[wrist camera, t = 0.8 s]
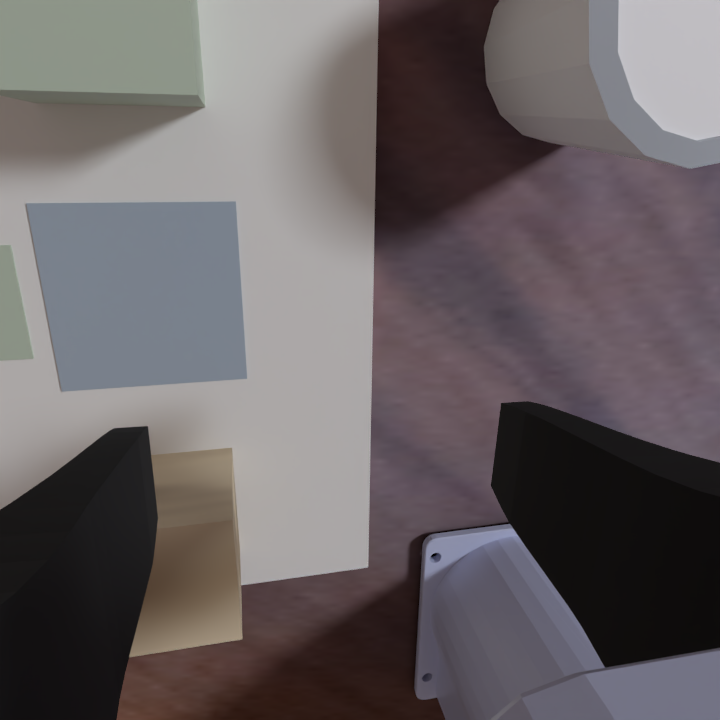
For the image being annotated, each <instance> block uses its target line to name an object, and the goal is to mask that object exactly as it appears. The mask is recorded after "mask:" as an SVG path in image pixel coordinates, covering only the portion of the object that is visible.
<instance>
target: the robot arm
mask: <svg viewBox="0 0 720 720" xmlns="http://www.w3.org/2000/svg"><path fill="white" fill-rule="evenodd" d="M491 487H492V489H493V491H494V493H495V495H496V497H497V499H498V502H499V504H500V506H501V508H502V510H503V512H504V513H505V515H506V517H507V519H508V521H509V523H510V524H505V525H497V526H489V527H482V528H474V529H467V530H459V531H451V532H444V533H436V534H432V535H429V536H428V537H426V539H425V540H424V542H423V547H422V564H421V581H420V598H419V615H418V632H417V649H416V666H415V683H414V690H415V693H416V696H417V698H418V699H421V700H427V699H432V698H438V701H439V704H440V706H441V709H442V712H443V714H444V717H445V720H720V463H719V462H715V461H711V460H707V459H703V458H700V457H696V456H692V455H688V454H685V453H681V452H678V451H675V450H671V449H668V448H665V447H662V446H659V445H656V444H653V443H650V442H647V441H643V440H640V439H638V438H635V437H632V436H629V435H626V434H623V433H620V432H618V431H615V430H612V429H609V428H607V427H604V426H601V425H599V424H596V423H593V422H591V421H588V420H585V419H582V418H580V417H577V416H574V415H572V414H569V413H566V412H563V411H560V410H557V409H554V408H551V407H548V406H545V405H541V404H538V403H533V402H528V401H527V402H511V403H501V410H500V418H499V426H498V434H497V442H496V450H495V458H494V466H493V474H492V482H491ZM157 523H158V513H157V504H156V494H155V485H154V476H153V467H152V458H151V449H150V440H149V431H148V426H140V427H124V428H113V429H112V430H110V431H108V432H107V433H106V434H104V435H103V436H102V437H100V438H99V439H98V440H96V441H95V442H94V443H92V444H91V445H90V446H89V447H87V448H86V449H85V450H83V451H82V452H81V453H80V454H78V455H77V456H76V457H74V458H73V459H72V460H70V461H69V462H68V463H67V464H65V465H64V466H63V467H61V468H60V469H59V470H57V471H56V472H55V473H53V474H52V475H51V476H49V477H48V478H46V479H45V480H43V481H42V482H40V483H39V484H38V485H36V486H35V487H33V488H32V489H30V490H29V491H27V492H26V493H24V494H23V495H22V496H20V497H19V498H17V499H16V500H14V501H13V502H11V503H10V504H8V505H7V506H5V507H4V508H2V509H0V720H116V719H117V712H118V705H119V699H120V694H121V689H122V685H123V680H124V675H125V671H126V667H127V663H128V659H129V655H130V651H131V648H132V644H133V640H134V636H135V632H136V628H137V624H138V620H139V617H140V613H141V609H142V605H143V601H144V597H145V593H146V589H147V585H148V581H149V577H150V573H151V569H152V565H153V559H154V550H155V542H156V533H157ZM434 553H438V554H437V555H436V556H433V557H431V555H432V554H434Z"/></svg>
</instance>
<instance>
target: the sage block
mask: <svg viewBox="0 0 720 720" xmlns="http://www.w3.org/2000/svg"><path fill="white" fill-rule="evenodd" d="M0 96H5V97H10V98H14V99H19V100H23V101H28V102H33V103H51V104H93V105H135V106H178V107H205V94H204V81H203V68H202V56H201V43H200V30H199V17H198V4H197V0H0Z"/></svg>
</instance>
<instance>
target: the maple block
mask: <svg viewBox="0 0 720 720" xmlns="http://www.w3.org/2000/svg"><path fill="white" fill-rule="evenodd" d="M151 458H152V467H153V476H154V485H155V494H156V504H157V513H158V523H157V533H156V542H155V550H154V559H153V565H152V569H151V573H150V577H149V581H148V585H147V589H146V593H145V597H144V601H143V605H142V609H141V613H140V617H139V620H138V624H137V628H136V632H135V636H134V640H133V644H132V648H131V651H130V655H129V657H134V656H140V655H147V654H153V653H159V652H165V651H172V650H178V649H184V648H191V647H197V646H203V645H209V644H216V643H222V642H228V641H235V640H241V639H242V605H241V566H240V543H239V530H238V517H237V504H236V491H235V479H234V466H233V453H232V448H223V449H212V450H201V451H190V452H179V453H169V454H158V455H151Z"/></svg>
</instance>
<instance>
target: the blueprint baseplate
mask: <svg viewBox="0 0 720 720" xmlns="http://www.w3.org/2000/svg"><path fill="white" fill-rule="evenodd" d="M197 4H198V17H199V30H200V43H201V56H202V68H203V81H204V94H205V107H178V106H135V105H93V104H51V103H33V102H28V101H23V100H19V99H14V98H10V97H5V96H0V509H2V508H4V507H5V506H7V505H8V504H10V503H11V502H13V501H14V500H16V499H17V498H19V497H20V496H22V495H23V494H24V493H26V492H27V491H29V490H30V489H32V488H33V487H35V486H36V485H38V484H39V483H40V482H42V481H43V480H45V479H46V478H48V477H49V476H51V475H52V474H53V473H55V472H56V471H57V470H59V469H60V468H61V467H63V466H64V465H65V464H67V463H68V462H69V461H70V460H72V459H73V458H74V457H76V456H77V455H78V454H80V453H81V452H82V451H83V450H85V449H86V448H87V447H89V446H90V445H91V444H92V443H94V442H95V441H96V440H98V439H99V438H100V437H102V436H103V435H104V434H106V433H107V432H108V431H110V430H112V429H113V428H124V427H140V426H148V431H149V440H150V449H151V455H158V454H169V453H179V452H190V451H201V450H212V449H223V448H232V453H233V466H234V479H235V491H236V504H237V517H238V530H239V543H240V566H241V585H247V584H254V583H261V582H268V581H275V580H282V579H289V578H296V577H303V576H311V575H318V574H325V573H332V572H339V571H346V570H353V569H360V568H368V547H369V493H370V439H371V386H372V332H373V278H374V224H375V170H376V117H377V63H378V9H379V0H197Z"/></svg>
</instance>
